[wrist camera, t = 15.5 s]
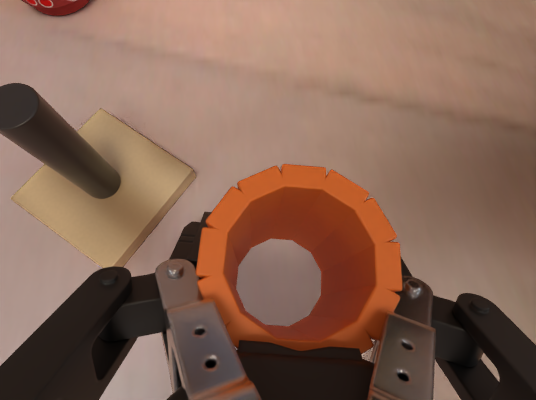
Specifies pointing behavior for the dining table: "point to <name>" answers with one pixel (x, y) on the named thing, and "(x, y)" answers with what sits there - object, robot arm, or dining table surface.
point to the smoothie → (57, 6)
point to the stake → (91, 177)
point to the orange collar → (315, 241)
